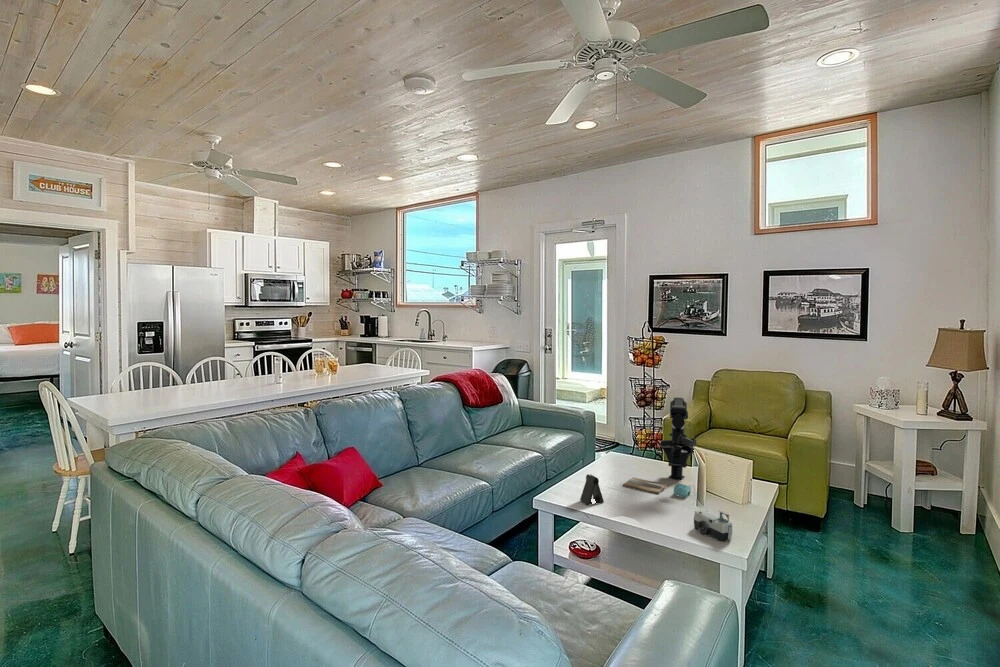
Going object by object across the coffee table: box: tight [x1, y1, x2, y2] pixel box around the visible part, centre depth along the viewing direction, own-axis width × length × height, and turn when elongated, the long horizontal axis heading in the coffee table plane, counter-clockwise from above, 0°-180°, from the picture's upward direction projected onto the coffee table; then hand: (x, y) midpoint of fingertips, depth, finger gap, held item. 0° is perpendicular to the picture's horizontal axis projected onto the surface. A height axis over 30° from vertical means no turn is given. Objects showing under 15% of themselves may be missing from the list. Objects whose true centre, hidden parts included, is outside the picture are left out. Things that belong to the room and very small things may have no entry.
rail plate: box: [622, 477, 669, 495], centre depth 253 cm, size 13×18×2 cm
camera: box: [693, 509, 733, 543], centre depth 200 cm, size 15×8×10 cm, turn 24°
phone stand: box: [579, 473, 605, 506], centre depth 232 cm, size 9×6×12 cm, turn 112°
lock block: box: [673, 483, 692, 498], centre depth 242 cm, size 6×6×4 cm
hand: (677, 465), depth 242 cm, fingers open, 9 cm apart
